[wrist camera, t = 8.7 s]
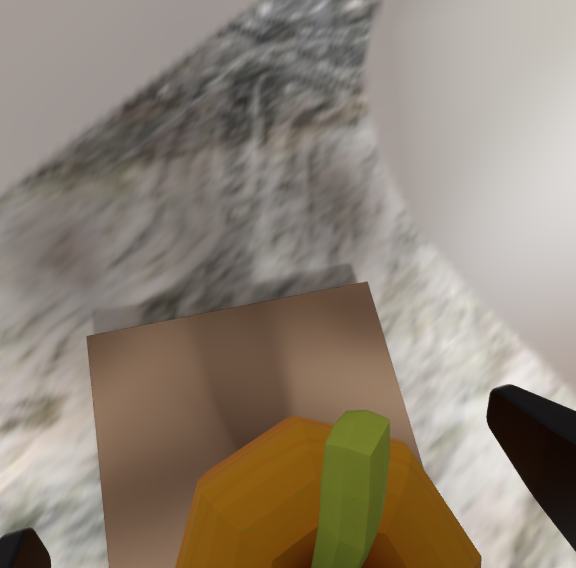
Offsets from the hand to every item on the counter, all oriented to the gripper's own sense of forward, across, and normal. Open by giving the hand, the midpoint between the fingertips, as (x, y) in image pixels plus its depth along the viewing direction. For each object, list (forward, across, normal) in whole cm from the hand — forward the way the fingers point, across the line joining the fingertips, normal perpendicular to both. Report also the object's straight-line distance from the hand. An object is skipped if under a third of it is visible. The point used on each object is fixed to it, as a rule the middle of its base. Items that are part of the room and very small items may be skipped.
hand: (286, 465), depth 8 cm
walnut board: (+6, 0, +8) cm, 10 cm away
